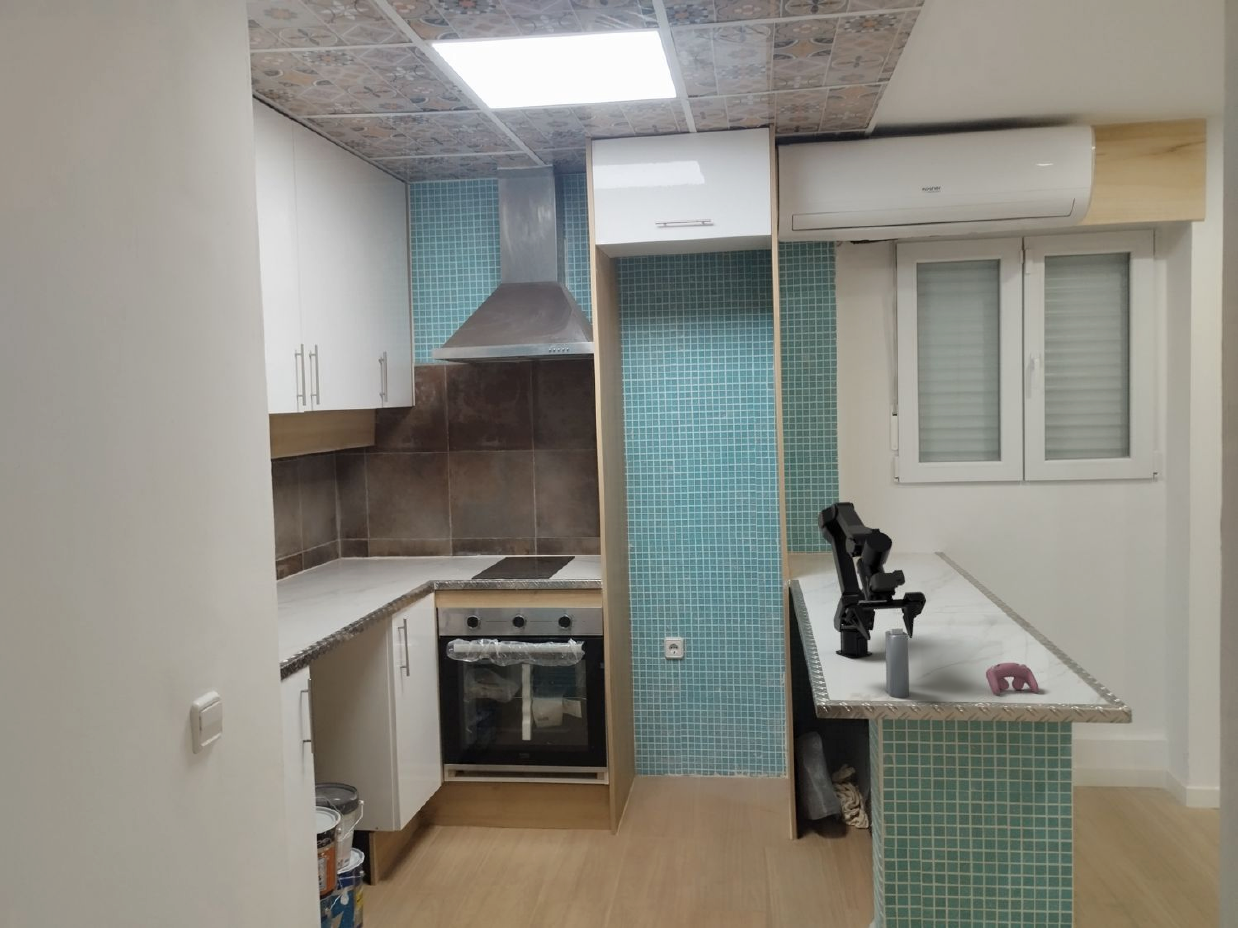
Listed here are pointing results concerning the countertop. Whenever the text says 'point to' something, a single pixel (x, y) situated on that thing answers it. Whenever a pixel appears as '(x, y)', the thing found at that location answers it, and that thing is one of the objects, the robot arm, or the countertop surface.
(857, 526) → the robot arm
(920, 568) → the countertop surface
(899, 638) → the grey bottle
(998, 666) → the video game controller
